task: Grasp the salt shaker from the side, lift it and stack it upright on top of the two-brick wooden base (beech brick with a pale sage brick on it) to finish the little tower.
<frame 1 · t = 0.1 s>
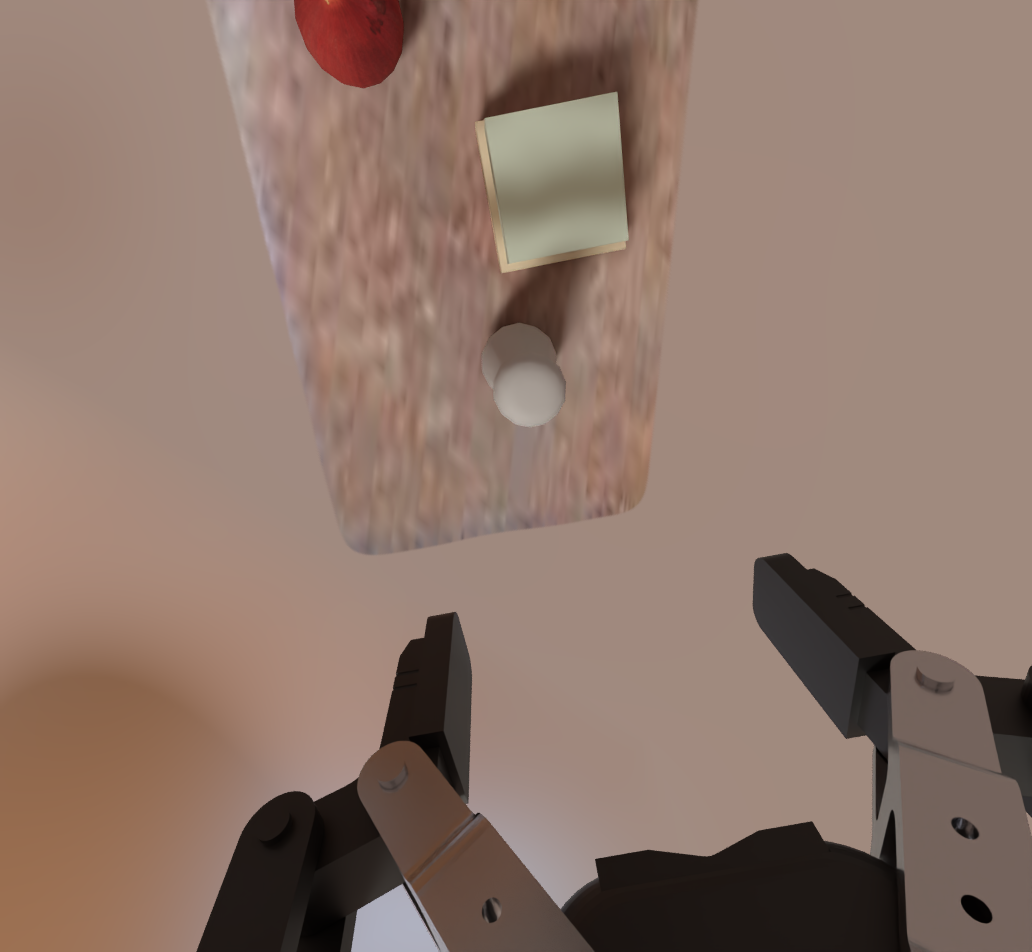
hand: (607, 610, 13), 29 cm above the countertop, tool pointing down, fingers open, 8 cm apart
salt shaker: (516, 357, 39), on the countertop
brick base: (549, 194, 34), on the countertop
onion: (366, 50, 31), on the countertop
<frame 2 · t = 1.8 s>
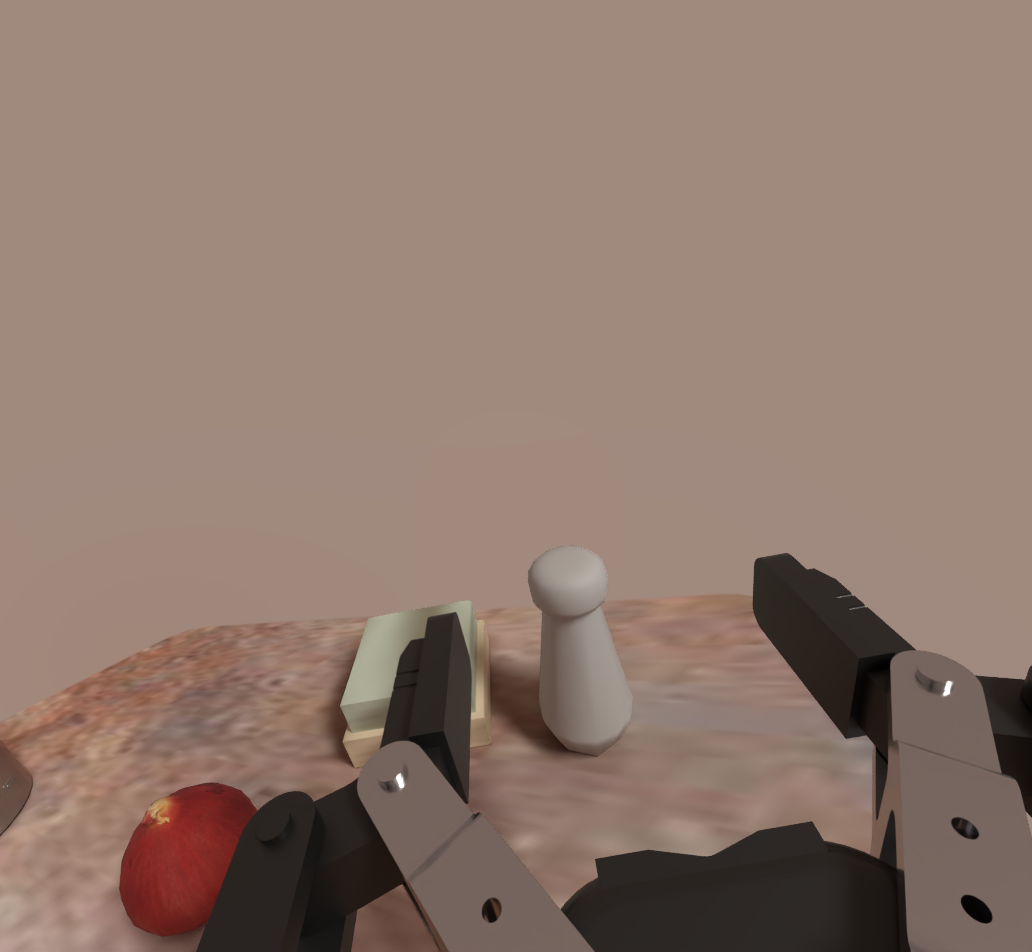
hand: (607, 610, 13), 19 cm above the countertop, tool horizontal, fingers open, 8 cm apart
salt shaker: (589, 727, 31), on the countertop
brick base: (429, 698, 35), on the countertop
onion: (227, 895, 25), on the countertop
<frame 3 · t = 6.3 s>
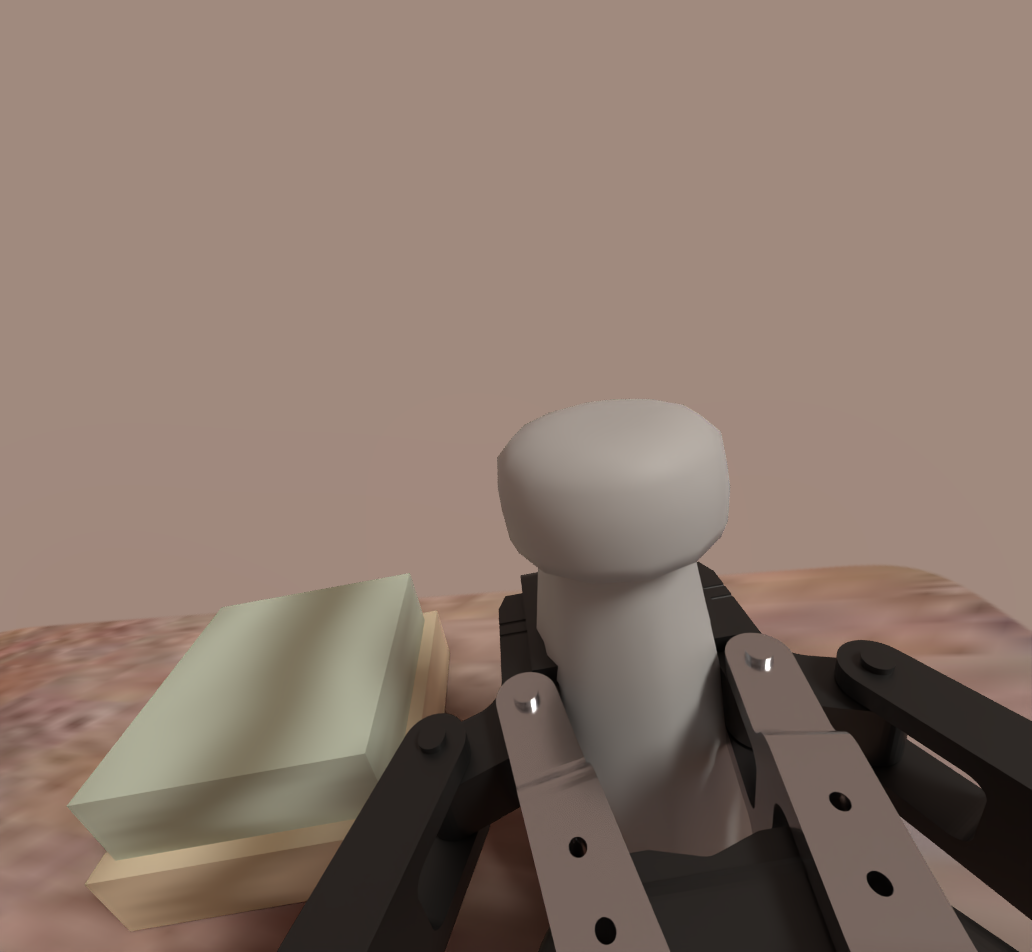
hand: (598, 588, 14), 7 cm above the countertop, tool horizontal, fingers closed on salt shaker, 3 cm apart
salt shaker: (645, 842, 14), on the countertop, touching gripper
brick base: (325, 760, 18), on the countertop
when the fingers open (13 cm above the countertop, at t = 9.8 s): salt shaker stays where it is, resting on brick base.
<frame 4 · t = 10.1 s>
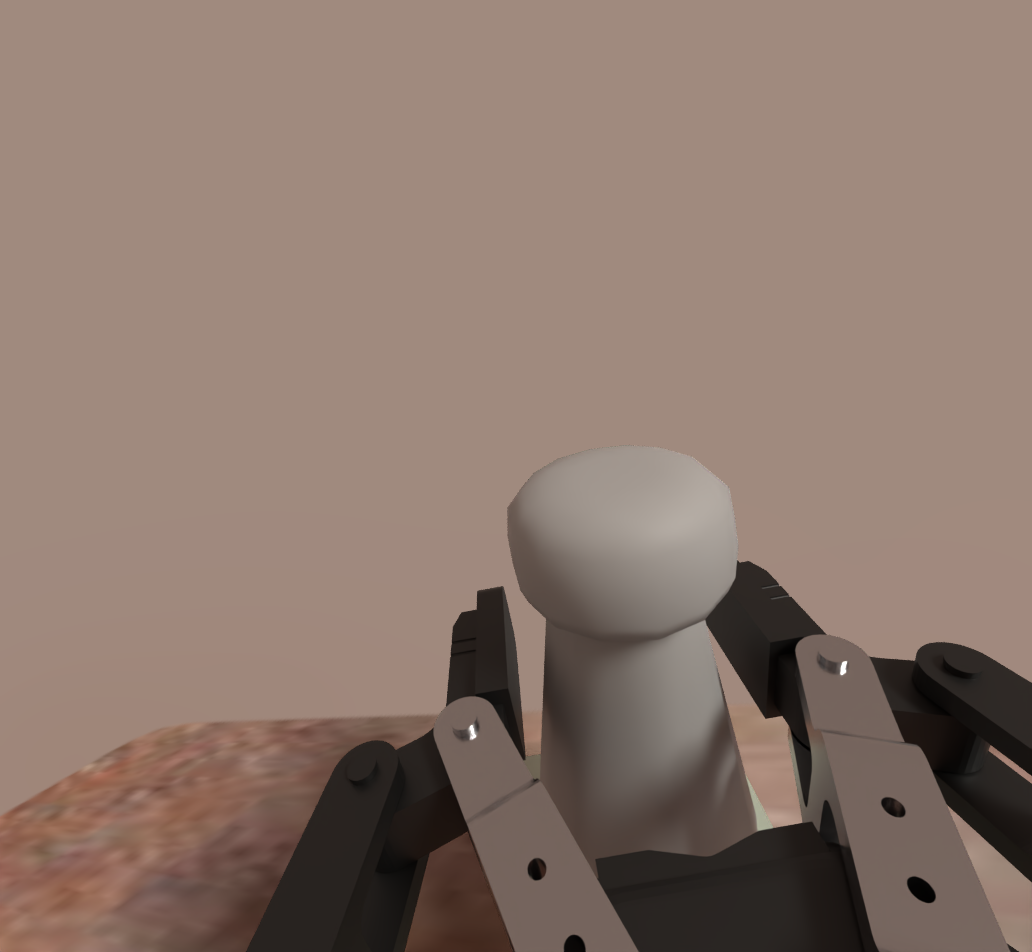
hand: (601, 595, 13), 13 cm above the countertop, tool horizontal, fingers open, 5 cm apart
salt shaker: (648, 866, 14), point 5 cm above the countertop, touching brick base
brick base: (655, 946, 16), on the countertop
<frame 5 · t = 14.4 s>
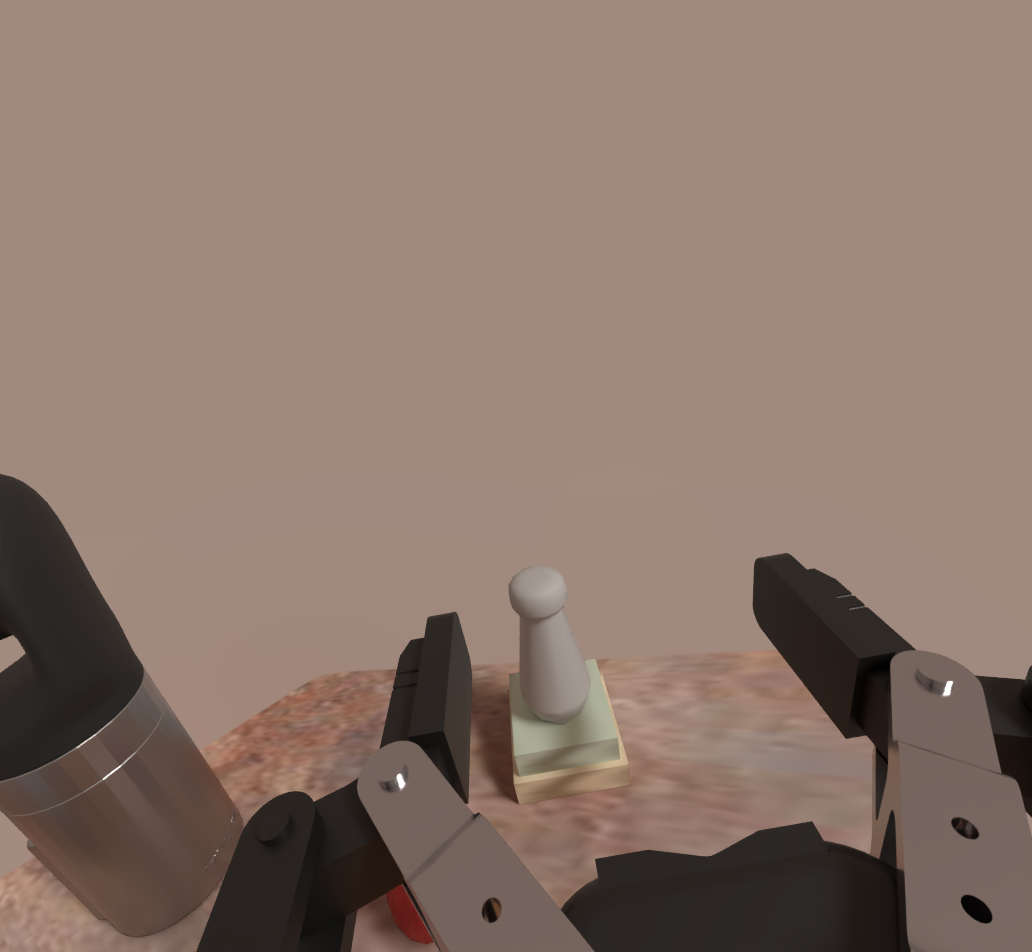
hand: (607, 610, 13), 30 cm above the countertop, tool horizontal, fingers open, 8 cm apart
salt shaker: (559, 704, 40), point 5 cm above the countertop, touching brick base
brick base: (566, 743, 42), on the countertop
onion: (446, 910, 32), on the countertop
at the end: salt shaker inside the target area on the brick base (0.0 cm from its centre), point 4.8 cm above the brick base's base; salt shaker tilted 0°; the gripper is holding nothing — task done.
